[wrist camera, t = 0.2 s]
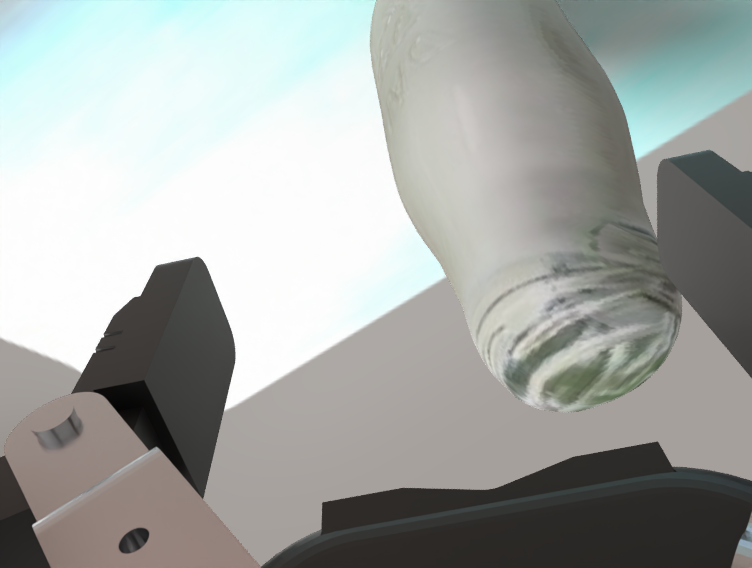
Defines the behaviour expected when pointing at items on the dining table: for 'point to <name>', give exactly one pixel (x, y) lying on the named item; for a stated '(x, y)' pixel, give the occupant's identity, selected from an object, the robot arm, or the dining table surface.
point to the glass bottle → (525, 194)
